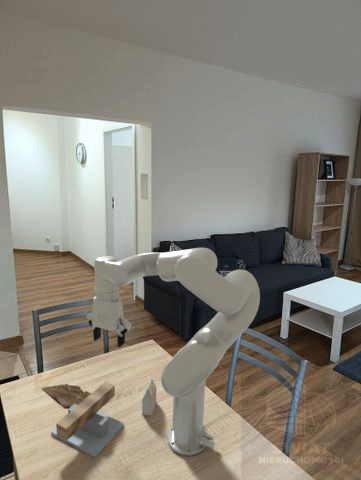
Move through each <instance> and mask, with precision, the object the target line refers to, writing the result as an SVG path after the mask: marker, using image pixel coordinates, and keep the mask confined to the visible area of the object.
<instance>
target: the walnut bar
mask: <svg viewBox="0 0 361 480" xmlns="http://www.w3.org/2000/svg"><path fill="white" fill-rule="evenodd" d="M115 387H116V386H115V384H112V383H109V382H107V381H105V382H104V383H102V384H101V385H99V387H98V388H96V389H95V390H94V391H93V392H91V393H92V394H91V395H89V396H88V397H87V398H86V399H85V400H84V401H82V402H81V403H80V404H79V405H78V406H76V407H75V408H74V409H73V410H72V411H71V412H69V413H68V412H67V414H65V416H64V417H62V418H61V419H60V420H59V421H58V422H57V423H56V424H55V425H56V427H57V436H59V437H61V438H63V439H65V440H68V439H69V438H70V437H71V436H73V435H74V434H75V433H76V432H77V431H78V430H79V429H80V428H81V427H82V426H83V425H84V424H85V423H86V422H87V421H88V420H89V419H91V418H92V417H93V416H94V415H95V414H96V413H97V412H100V410H101V409H102V408H104V407H105V405H106V404H107V403H109V402H110V401H111V400H112V399H113V398H114V397H115V395H116V394H115V393H116V390H115ZM56 427H55V428H56Z"/></svg>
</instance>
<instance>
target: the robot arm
mask: <svg viewBox="0 0 361 480" xmlns="http://www.w3.org/2000/svg"><path fill="white" fill-rule="evenodd" d="M93 262H94V263H93V264H94V265H93V268H94V270H93V271H94V287H95V288H93V293H95V296H94V297H93V301H92V303H91V305H92V306H91V312H89V313H88V314H86V319H87V321H88V324H89V325H90V329H91V330H92V333H93V335H92V336H93V341H94V342H96V341H98V340H99V339H101V338H102V331H101V330H102V329H103V330H106V331H109V332H110V331H111V332H116V333H117V338H116V340H117V341H116V342H117V347H118V348H121V347H122V346H123V345H125V343H126V333H128V331H130V328H131V326H132V323H131V322H130V321H129V320H128V319H126V318H125V317H124V308H123V302H122V298H121V297H120V288H119V287H124V286H125V287H126V286H128V285H130V284H131V283H133V282H135V281H136V280H138V279H141V278H144V277H150V276H159V278H160V279H161V280H162V281H164V282H176V281H178V282H179V283H180V284H181V285H182V286H183V287H184V288H186V289H187V290H188V291H189V292H191V293H192V294H194V295H195V297H197V298H199V299H200V300H201V301H202V302H204V303H205V304H206V305H208V306H209V307H211V308H212V309H214V310H215V311H216V312H217V313H216V314H215V315H214V317H212V318H211V320H210V321H209V322H208V323H206V325H204V326H203V327H202V328H200V329H199V330H198V331H197V332H196V333H195V334H194V335H193V337H191V339H190V340H189V341H188V342H187V343H186V344H185V345H184V346H182V347H181V348H180V349H179V350H178V351H177V353H175V355H173V357H172V358H171V360H170V361H168V363H167V364H166V365H165V367H164V368H163V369H162V371H161V375H160V382H161V385H162V388H163V390H164V391H165V392H166V394H168V395H169V396H172V397H173V401H172V402H173V403H172V404H173V408H172V409H173V410H172V426H171V427H170V428H169V430H168V432H167V443H168V445H169V447H170V448H171V450H172V451H173V452H175V453H177V454H179V455H182V456H187V457H189V456H195V455H198V454H200V453H202V452H203V451H204V450H205V448H206V447H207V448H208V449H211V450H214V449H215V445H216V443H215V441H214V439H215V438H214V437H215V435H212V434H209V433H208V432H207V427H206V426H205V425H204V417H205V398H206V397H205V395H206V384H207V378H208V377H209V376H210V375H211V374H212V373H213V372H214V371H215V369H216V368H217V367H218V365H219V363H220V362H221V360H222V358H223V357H224V356H225V353H226V352H227V350H228V349H229V348H230V347H231V346H232V344H233V343H235V342H236V341H237V340H238V339H239V338H240V337H241V335H242V334H244V332H245V331H246V330H247V329H248V328H249V327H250V325H251V324H252V322H253V321H254V319H255V317H256V316H257V312H258V310H259V308H260V307H259V306H260V300H261V298H260V297H261V294H260V293H261V292H260V287H259V284H258V281H257V279H256V278H255V277H254V275H253V274H252V273H251V272H249V271H248V270H245V269H235V270H233V271H231V272H229V273H227V274H226V275H225V276H222V275H221V274H219V272H217V271H216V270H217V268H218V257H217V255H216V253H215V252H214V251H213V250H212V249H210V248H208V247H207V248H206V247H195V248H188V249H181V250H180V249H179V250H174V251H172V250H171V251H165V252H164V251H163V252H158V251H157V252H149V253H141V254H135V255H132V256H129V257H126V258H124V259H121V260H118V258H117V257H115V256H111V255H104V256H99V257H97V258H96V259H94V261H93Z"/></svg>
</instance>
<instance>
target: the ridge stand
mask: <svg viewBox="0 0 361 480" xmlns="http://www.w3.org/2000/svg"><path fill="white" fill-rule="evenodd" d="M76 406H78V405H76V404H74V405H73V406H71V407H68V409H67V414H68V413H69V412H71V411H72V410H73V409H74V408H75V407H76ZM124 426H125V423H124V422H122V421H120V420H118V419H115V418H114V417H111V416H109V415H107V414H105V413H102V412H100V411H98V412H97V413H96V414H95V415H94V416H93V417H92V418H91V419H89V420H88V421H87V422H86V423H85V424H84V425H83V426H82V427H81V428H80V429H79V430H78V431H77V432H76V433H75V434H74V435H73V436H71V437H70V438H69V439H68V440H65V439H63V438H61V437H59V436H57V427H55V428H53V429H52V430H51V431H50V434H51V436H53V437H56V438H57V439H59V440H60V441H63V442H65V443H66V444H69V445H70V446H72V447H74V448H76V449H77V450H80V451H82V452H84V453H85V454H88V455H89V456H91V457H93V458H96V457H97V456H98V455H99V454H100V453H101V451H102V450H104V448H105V447H106V446H107V445H108V444H109V443H110V442H111V441H112V439H113V438H114V437H115V436H116V435H117V434H118V433H119V432H120V431H121V430H122V429H123V427H124Z"/></svg>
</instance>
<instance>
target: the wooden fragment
mask: <svg viewBox="0 0 361 480" xmlns="http://www.w3.org/2000/svg"><path fill="white" fill-rule="evenodd" d="M41 390H43V392H45V393H47V395H49V396H50V397H51V398H52V399H53V398H54V400H56V401H57V402H58V403H59V404H60V405H61V406H63V407H64V408H70V407H71V406H73V405H74V404H76V405H79V404H80V403H81V402H82V401H84V400H85V399H86V398H87V397H88V396H89V395H91V394H92V393H93V392H89V391H87V390H86V391H84V390H82V389H81V386H78V385H72V384H70V385H69V384H68V383H65V384H57V385H51V386H45V387H44V386H43V387H41Z"/></svg>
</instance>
